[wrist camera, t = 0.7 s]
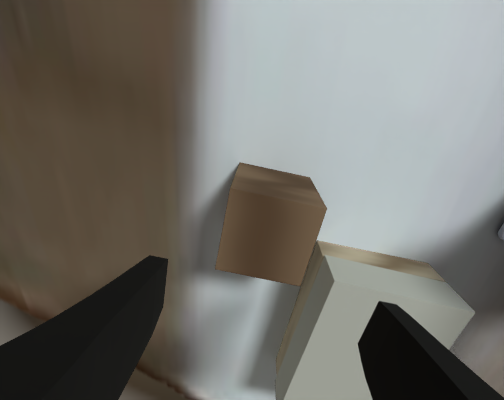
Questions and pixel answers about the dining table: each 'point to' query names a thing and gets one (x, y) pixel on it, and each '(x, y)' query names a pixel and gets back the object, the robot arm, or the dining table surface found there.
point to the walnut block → (270, 225)
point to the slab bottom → (352, 255)
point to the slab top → (358, 326)
